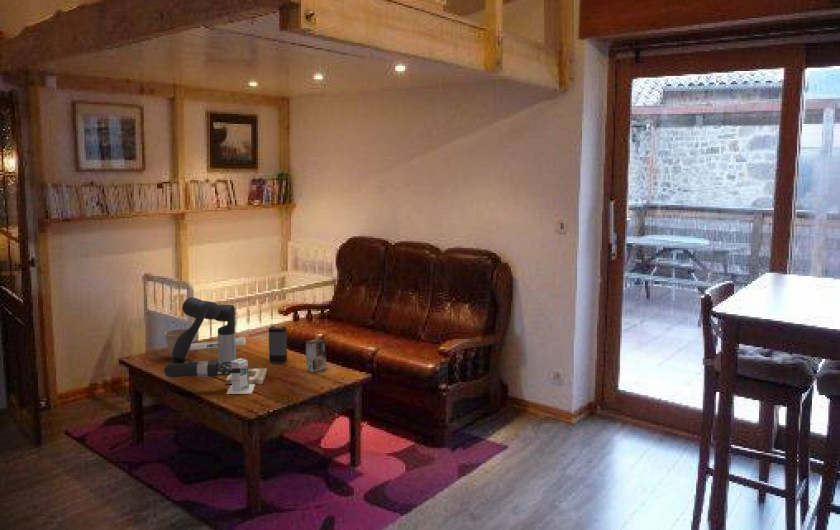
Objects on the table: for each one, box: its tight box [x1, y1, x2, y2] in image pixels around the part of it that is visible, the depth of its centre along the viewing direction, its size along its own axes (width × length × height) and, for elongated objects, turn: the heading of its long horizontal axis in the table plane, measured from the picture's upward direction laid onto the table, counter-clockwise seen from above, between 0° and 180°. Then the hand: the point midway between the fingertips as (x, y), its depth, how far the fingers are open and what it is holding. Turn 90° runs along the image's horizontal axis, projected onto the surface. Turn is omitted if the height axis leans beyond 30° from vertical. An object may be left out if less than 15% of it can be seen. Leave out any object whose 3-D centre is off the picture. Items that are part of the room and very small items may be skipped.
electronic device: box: [268, 325, 288, 364], centre depth 373 cm, size 9×6×20 cm, turn 84°
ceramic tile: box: [225, 384, 256, 395], centre depth 328 cm, size 12×12×1 cm
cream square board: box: [225, 367, 268, 385], centre depth 346 cm, size 18×18×2 cm
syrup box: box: [231, 358, 250, 391], centre depth 327 cm, size 6×6×14 cm
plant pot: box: [164, 328, 191, 360], centre depth 377 cm, size 15×15×16 cm
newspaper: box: [189, 336, 247, 352], centre depth 406 cm, size 35×12×4 cm, turn 113°
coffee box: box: [305, 338, 327, 373], centre depth 361 cm, size 9×6×16 cm
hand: (241, 368), depth 327 cm, fingers open, 8 cm apart
